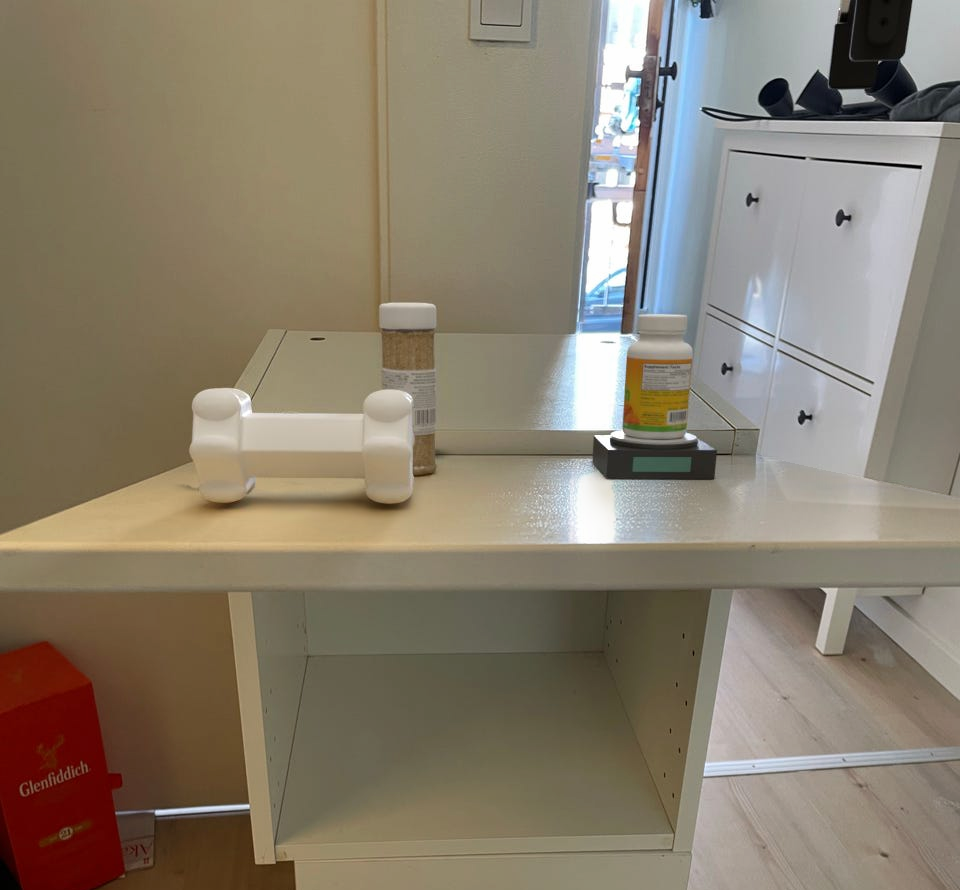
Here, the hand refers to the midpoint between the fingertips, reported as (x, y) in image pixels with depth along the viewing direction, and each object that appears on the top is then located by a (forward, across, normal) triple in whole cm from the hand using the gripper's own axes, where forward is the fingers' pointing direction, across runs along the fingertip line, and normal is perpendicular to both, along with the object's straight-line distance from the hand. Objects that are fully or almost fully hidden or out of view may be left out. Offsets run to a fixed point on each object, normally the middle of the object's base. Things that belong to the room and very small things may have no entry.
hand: (862, 75), depth 65 cm
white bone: (+28, -11, +36) cm, 47 cm away
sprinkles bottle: (+28, +2, +32) cm, 43 cm away
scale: (+28, +8, +12) cm, 32 cm away
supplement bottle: (+26, +8, +12) cm, 29 cm away
